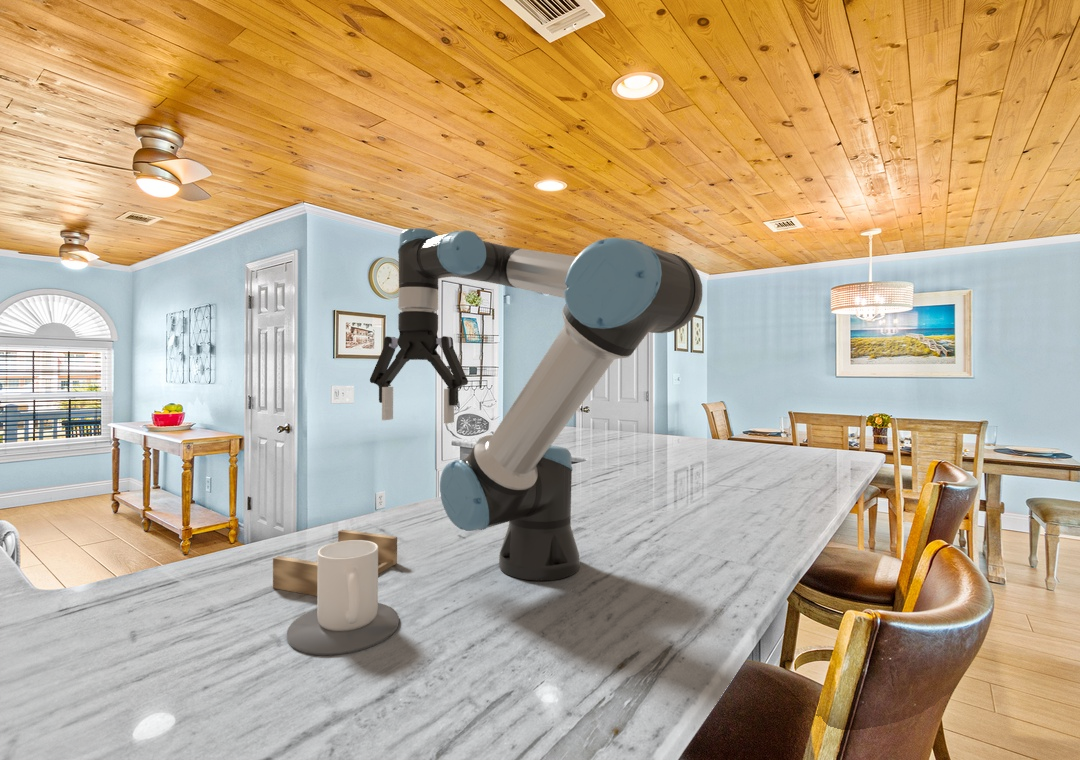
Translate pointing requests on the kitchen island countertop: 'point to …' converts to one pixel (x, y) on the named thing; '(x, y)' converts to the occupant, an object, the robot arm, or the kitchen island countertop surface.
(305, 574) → the caddy
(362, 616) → the mug
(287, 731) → the kitchen island countertop surface
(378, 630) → the coaster
